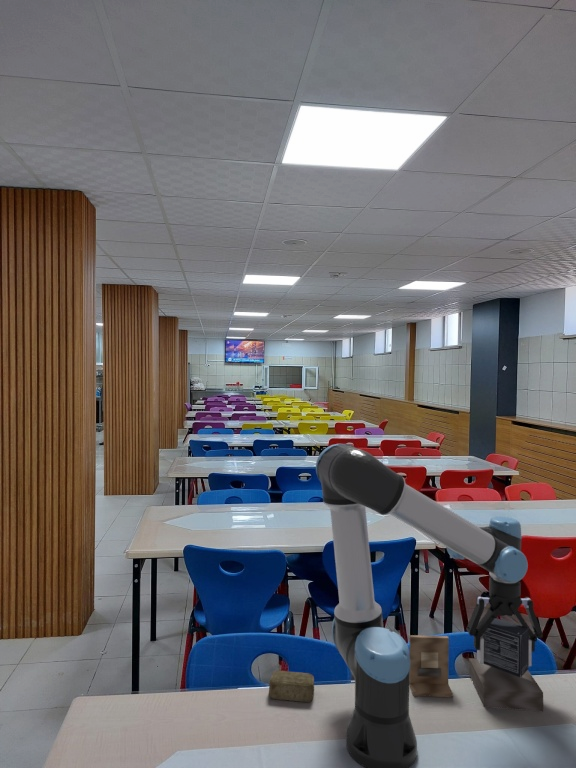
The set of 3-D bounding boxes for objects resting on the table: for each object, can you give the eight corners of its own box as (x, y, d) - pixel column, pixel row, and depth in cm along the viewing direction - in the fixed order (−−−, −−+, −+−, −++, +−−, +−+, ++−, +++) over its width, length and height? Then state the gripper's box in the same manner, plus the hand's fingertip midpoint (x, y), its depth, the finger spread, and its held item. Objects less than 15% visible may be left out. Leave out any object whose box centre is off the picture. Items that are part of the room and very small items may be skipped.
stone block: (313, 704, 125) (313, 684, 125) (267, 701, 126) (267, 681, 126) (314, 690, 131) (314, 671, 131) (270, 687, 132) (271, 668, 132)
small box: (530, 668, 130) (530, 627, 130) (521, 678, 125) (521, 636, 125) (488, 653, 137) (489, 614, 137) (479, 662, 132) (479, 622, 132)
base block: (483, 708, 125) (484, 688, 125) (469, 676, 139) (469, 658, 139) (542, 712, 123) (543, 692, 123) (521, 680, 137) (522, 661, 137)
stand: (413, 695, 129) (413, 644, 129) (408, 682, 135) (408, 633, 135) (452, 697, 128) (453, 645, 128) (446, 683, 134) (446, 634, 134)
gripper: (463, 582, 128) (462, 668, 128) (558, 585, 127) (557, 672, 127) (454, 571, 135) (453, 653, 135) (544, 574, 134) (543, 656, 134)
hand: (503, 662), depth 131 cm, fingers closed on small box, 11 cm apart
